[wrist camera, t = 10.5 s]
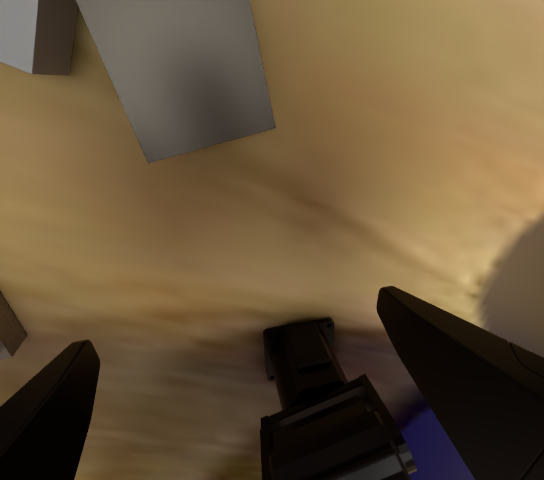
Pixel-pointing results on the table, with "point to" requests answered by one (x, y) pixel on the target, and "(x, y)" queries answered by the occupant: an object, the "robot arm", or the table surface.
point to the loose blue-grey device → (38, 35)
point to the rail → (9, 331)
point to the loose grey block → (182, 70)
